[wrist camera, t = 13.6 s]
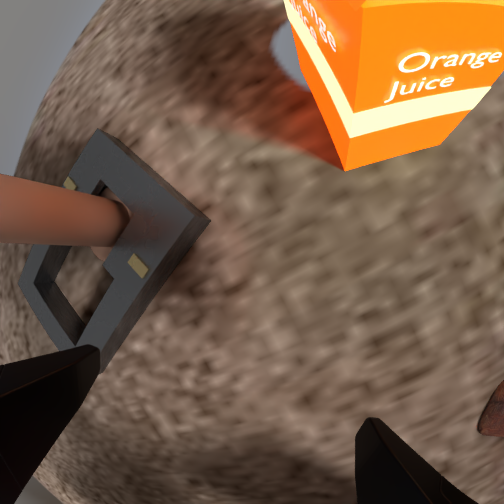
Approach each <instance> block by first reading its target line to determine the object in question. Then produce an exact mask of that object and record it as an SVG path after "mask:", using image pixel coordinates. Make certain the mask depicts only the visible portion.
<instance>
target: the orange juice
mask: <svg viewBox="0 0 504 504" xmlns="http://www.w3.org/2000/svg"><path fill="white" fill-rule="evenodd" d="M284 3H285V7H286V11H287V15H288V19H289V20H290V24H291V28H292V32H293V36H294V41H295V45H296V49H297V54H298V58H299V63H300V68H301V71H302V73H303V75H304V77H305V79H306V81H307V84H308V86H309V88H310V90H311V92H312V94H313V96H314V98H315V101H316V103H317V105H318V107H319V109H320V112H321V114H322V116H323V119H324V121H325V123H326V126H327V128H328V130H329V133H330V135H331V137H332V140H333V142H334V145H335V147H336V150H337V152H338V155H339V157H340V160H341V163H342V165H343V168H344V170H345V171H347V170H351V169H354V168H357V167H361V166H364V165H367V164H371V163H374V162H378V161H381V160H385V159H388V158H392V157H395V156H399V155H403V154H406V153H410V152H414V151H417V150H421V149H425V148H429V147H432V146H436V145H440V144H441V143H442V142H443V140H444V139H445V138H446V137H447V136H448V135H449V134H450V133H451V132H452V130H453V129H454V128H455V127H456V126H457V125H458V124H459V123H460V121H461V120H462V119H463V118H464V117H465V116H466V115H467V113H468V112H469V111H470V110H471V109H473V108H474V107H475V106H476V105H477V104H478V102H479V101H480V100H481V99H482V98H483V96H484V95H485V94H486V93H487V92H488V91H489V89H490V88H491V85H492V84H493V83H494V82H495V80H496V79H497V78H498V77H499V75H500V74H501V73H502V72H503V70H504V0H284Z"/></svg>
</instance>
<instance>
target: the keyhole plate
mask: <svg viewBox="0 0 504 504" xmlns="http://www.w3.org/2000/svg"><path fill="white" fill-rule="evenodd" d="M106 186H108V187H109V189H110V190H111V191H112V192H113V193H114V194H115V195H116V196H117V197H118V198H119V199H120V200H121V201H122V202H123V203H124V204H125V205H126V207H127V208H128V209H129V210H130V211H131V212H132V213H133V214H134V216H133V217H132V219H131V220H130V222H129V223H128V225H127V226H126V228H125V229H124V231H123V233H122V234H121V236H120V237H119V239H118V240H117V242H116V244H115V245H114V247H113V248H112V250H111V252H110V253H109V255H108V257H107V258H106V260H105V262H104V263H103V266H104V267H105V269H106V270H107V271H108V272H109V273H110V275H111V276H112V277H113V278H114V280H113V282H112V284H111V285H110V287H109V288H108V290H107V292H106V293H105V295H104V297H103V298H102V300H101V302H100V304H99V305H98V307H97V309H96V310H95V312H94V314H93V316H92V317H91V319H90V321H89V323H88V324H87V326H85V324H84V323H83V322H82V320H81V319H80V318H79V316H78V315H77V314H76V312H75V311H74V309H73V308H72V307H71V305H70V304H69V302H68V301H67V300H66V298H65V297H64V295H63V294H62V292H61V291H60V289H59V288H58V286H57V285H56V283H55V282H54V281H55V279H56V277H57V275H58V272H59V270H60V268H61V266H62V264H63V262H64V260H65V258H66V256H67V254H68V252H69V250H70V248H71V247H72V246H67V245H42V244H33V246H32V249H31V251H30V254H29V256H28V258H27V261H26V263H25V266H24V269H23V271H22V274H21V277H20V279H19V282H18V285H19V286H20V288H21V290H22V292H23V294H24V296H25V297H26V299H27V301H28V303H29V304H30V306H31V308H32V309H33V311H34V313H35V314H36V316H37V318H38V319H39V321H40V323H41V324H42V326H43V327H44V329H45V330H46V332H47V333H48V335H49V337H50V338H51V340H52V341H53V342H54V344H55V345H56V347H57V348H58V350H59V351H63V350H67V349H70V348H74V347H78V346H82V345H86V344H91V345H93V346H95V347H98V348H99V349H100V372H99V374H101V373H103V371H104V370H105V368H106V367H107V365H108V364H109V362H110V361H111V359H112V358H113V356H114V355H115V353H116V352H117V350H118V349H119V347H120V346H121V344H122V343H123V341H124V340H125V338H126V337H127V335H128V334H129V333H130V331H131V330H132V328H133V327H134V325H135V324H136V322H137V321H138V320H139V318H140V317H141V315H142V314H143V312H144V311H145V310H146V308H147V307H148V305H149V304H150V302H151V301H152V300H153V298H154V297H155V295H156V294H157V293H158V291H159V290H160V289H161V287H162V286H163V284H164V283H165V282H166V280H167V279H168V277H169V276H170V275H171V273H172V272H173V271H174V269H175V268H176V267H177V265H178V264H179V263H180V261H181V260H182V259H183V257H184V256H185V255H186V253H187V252H188V251H189V249H190V248H191V247H192V245H193V244H194V243H195V241H196V240H197V239H198V237H199V236H200V235H201V233H202V232H203V231H204V229H205V228H206V227H207V226H208V224H209V223H210V222H211V220H210V219H209V218H208V217H207V216H205V215H204V214H203V213H202V212H201V211H200V210H199V209H197V208H196V207H195V206H194V205H193V204H192V203H191V202H189V201H188V200H187V199H186V198H185V197H184V196H183V195H181V194H180V193H179V192H178V191H177V190H176V189H175V188H173V187H172V186H171V185H170V184H169V183H168V182H167V181H165V180H164V179H163V178H162V177H161V176H160V175H159V174H157V173H156V172H155V171H154V170H153V169H152V168H151V167H149V166H148V165H147V164H146V163H145V162H144V161H143V160H141V159H140V158H139V157H138V156H137V155H136V154H135V153H134V152H132V151H131V150H130V149H129V148H128V147H127V146H126V145H124V144H123V143H122V142H121V141H120V140H119V139H118V138H116V137H114V136H112V135H110V134H108V133H106V132H104V131H102V130H100V129H98V128H97V130H96V131H95V133H94V134H93V136H92V137H91V139H90V140H89V142H88V143H87V145H86V146H85V148H84V150H83V151H82V153H81V154H80V156H79V158H78V159H77V161H76V163H75V164H74V166H73V168H72V169H71V171H70V173H69V174H68V176H67V178H66V180H65V181H64V183H63V185H62V187H61V188H66V189H70V190H74V191H79V192H83V193H87V194H91V195H95V196H98V194H99V193H100V192H102V191H103V190H104V189H105V188H106ZM99 374H98V375H99Z"/></svg>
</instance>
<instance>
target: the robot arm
mask: <svg viewBox="0 0 504 504" xmlns="http://www.w3.org/2000/svg"><path fill="white" fill-rule="evenodd" d="M99 372H100V349H99V348H98V347H95V346H93V345H91V344H86V345H82V346H78V347H74V348H70V349H67V350H63V351H59V352H55V353H51V354H47V355H42V356H38V357H34V358H30V359H26V360H21V361H17V362H13V363H8V364H5V365H0V504H14V503H15V501H16V500H17V498H18V497H19V495H20V494H21V492H22V490H23V489H24V487H25V485H26V484H27V483H28V481H29V480H30V478H31V477H32V475H33V474H34V472H35V471H36V469H37V468H38V466H39V465H40V463H41V462H42V460H43V459H44V457H45V456H46V454H47V453H48V451H49V450H50V449H51V447H52V446H53V444H54V443H55V441H56V440H57V439H58V437H59V436H60V434H61V433H62V431H63V430H64V429H65V427H66V426H67V424H68V423H69V422H70V420H71V419H72V417H73V416H74V415H75V413H76V412H77V411H78V409H79V408H80V406H81V405H82V403H83V401H84V399H85V398H86V396H87V394H88V392H89V390H90V388H91V387H92V385H93V383H94V381H95V380H96V378H97V376H98V374H99ZM355 481H356V491H357V502H358V504H478V503H477V502H475V501H474V500H472V499H471V498H470V497H468V496H467V495H465V494H464V493H463V492H461V491H460V490H459V489H457V488H456V487H455V486H454V485H452V484H451V483H450V482H449V481H448V480H447V479H445V478H444V477H443V476H441V474H440V473H439V472H437V471H436V470H435V469H434V468H433V467H432V466H431V465H430V464H428V463H427V462H426V461H425V460H424V459H423V458H422V457H421V456H420V455H418V454H417V453H416V452H415V451H414V450H413V449H412V448H411V447H410V446H409V445H407V444H406V443H405V442H404V441H403V440H402V439H401V438H400V437H399V436H398V435H397V434H396V433H394V432H393V431H392V430H391V429H390V428H389V427H388V426H387V425H386V424H385V423H384V422H383V421H382V420H380V419H379V418H373V417H369V418H367V419H366V420H365V421H364V423H363V424H362V426H361V428H360V429H359V431H358V432H357V434H356V437H355Z"/></svg>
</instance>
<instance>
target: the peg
mask: <svg viewBox="0 0 504 504" xmlns="http://www.w3.org/2000/svg"><path fill="white" fill-rule="evenodd" d="M133 216H134V214H133V213H132V212H131V211H130V210H129V209H128V208H127V207H126V205H125V204H124V203H123V202H122V201H121V200H120V199H119V198H118V197H117V196H116V195H115V194H114V193H113V192H112V191H111V190H110V189H109V187H108V188H106V189H104V190H103V191H102V192H100V193H99V194H98V196H95V195H91V194H87V193H83V192H79V191H74V190H70V189H66V188H61V187H57V186H53V185H49V184H44V183H40V182H35V181H31V180H27V179H22V178H18V177H13V176H9V175H4V174H0V243H16V244H42V245H67V246H90V248H91V250H92V251H93V253H94V254H95V255H96V256H97V257H98V258H99V259H101V260H102V261H104V262H105V260H106V258H107V257H108V255H109V253H110V252H111V250H112V248H113V247H114V245H115V244H116V242H117V240H118V239H119V237H120V236H121V234H122V233H123V231H124V229H125V228H126V226H127V225H128V223H129V222H130V220H131V219H132V217H133Z"/></svg>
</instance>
